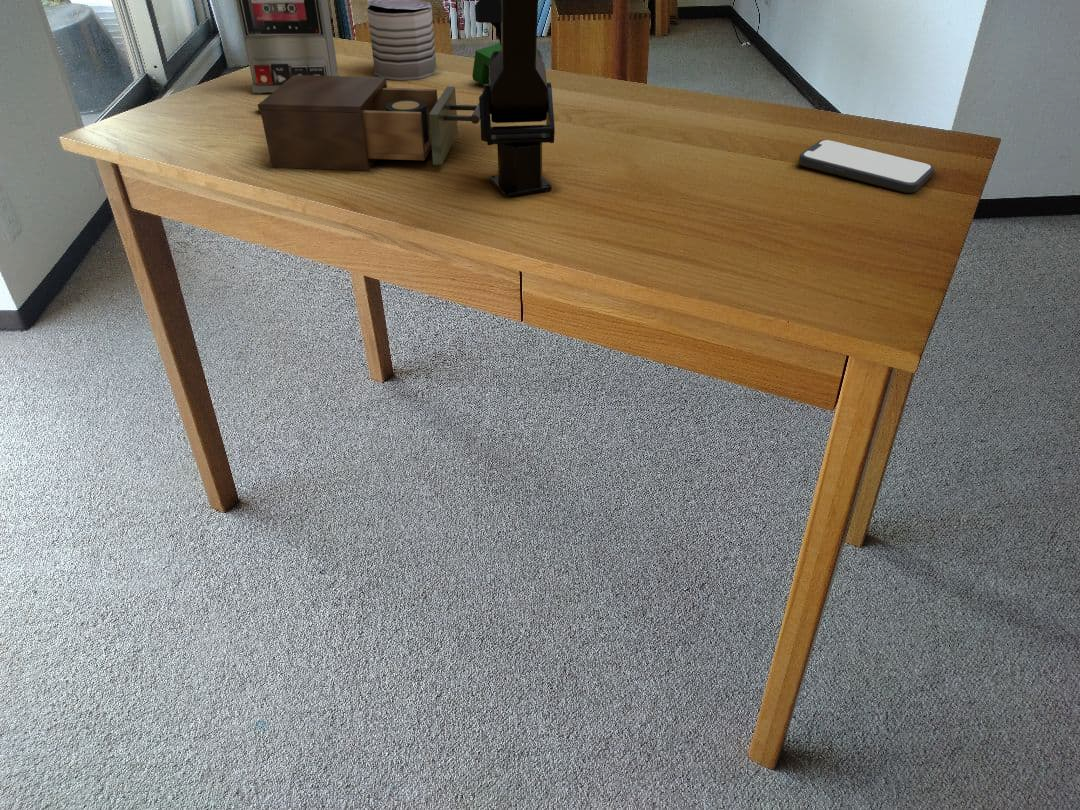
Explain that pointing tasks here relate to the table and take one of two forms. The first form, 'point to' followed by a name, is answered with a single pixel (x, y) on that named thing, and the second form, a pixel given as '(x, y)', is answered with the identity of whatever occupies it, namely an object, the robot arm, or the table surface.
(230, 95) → the table surface
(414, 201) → the table surface
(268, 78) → the cassette tape recorder
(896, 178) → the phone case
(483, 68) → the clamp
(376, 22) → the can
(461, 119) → the drawer
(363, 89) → the cabinet
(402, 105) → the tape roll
